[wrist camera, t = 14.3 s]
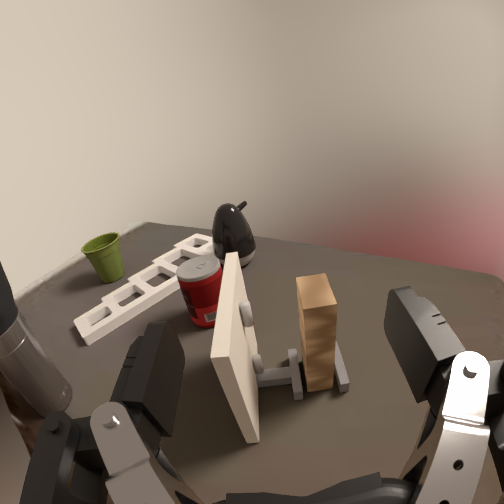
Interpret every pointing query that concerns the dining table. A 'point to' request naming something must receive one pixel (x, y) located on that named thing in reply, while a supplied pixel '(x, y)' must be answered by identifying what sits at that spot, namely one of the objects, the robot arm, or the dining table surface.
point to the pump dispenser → (232, 234)
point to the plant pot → (105, 256)
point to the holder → (140, 290)
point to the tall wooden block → (317, 330)
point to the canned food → (201, 288)
